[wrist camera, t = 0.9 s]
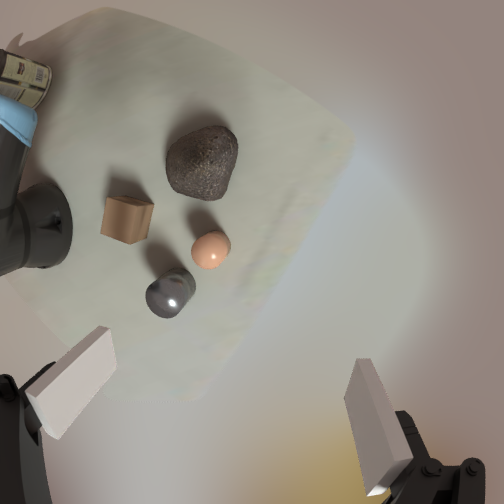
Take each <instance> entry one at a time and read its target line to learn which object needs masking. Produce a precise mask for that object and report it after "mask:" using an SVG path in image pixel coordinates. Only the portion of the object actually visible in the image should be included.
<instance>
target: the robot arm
mask: <svg viewBox="0 0 504 504" xmlns="http://www.w3.org/2000/svg"><path fill="white" fill-rule="evenodd" d="M37 121H38V116H37V113H36V111H35V110H34V109H32V108H31V107H29V106H27V105H24V104H22V103H20V102H18V101H16V100H13V99H11V98H9V97H6V96H4V95H2V94H0V276H2V275H5V274H7V273H9V272H12V271H14V270H16V269H19V268H22V267H28V268H36V267H37V268H42V269H46V268H50V267H53V266H55V265H58V264H60V263H61V262H62V261H63V260H64V259H65V257H66V256H67V254H68V252H69V249H70V246H71V241H72V218H71V212H70V209H69V205H68V203H67V200H66V198H65V197H64V195H63V193H62V192H61V191H60V190H59V189H58V188H57V187H56V186H54V185H52V184H36V185H33V186H31V187H30V188H28V189H27V190H25V191H23V192H21V193H19V194H17V193H18V188H19V184H20V180H21V176H22V172H23V168H24V165H25V162H26V158H27V155H28V152H29V149H30V147H31V146H32V143H31V142H32V138H33V135H34V131H35V128H36V125H37ZM116 369H117V363H116V358H115V353H114V348H113V343H112V338H111V332H110V328H106V327H102V326H98V327H97V328H96V329H95V330H94V331H92V332H91V333H90V334H89V335H88V336H86V337H85V338H84V339H83V340H82V341H80V342H79V343H78V344H77V345H76V346H75V347H73V348H72V349H71V350H70V351H69V352H68V353H67V354H65V356H63V357H62V358H61V359H60V360H59V361H57V362H52V363H50V364H47V365H46V366H45V367H43V368H42V369H41V370H40V372H38V373H37V374H35V376H33V377H32V378H31V379H30V380H29V381H28V382H26V383H25V384H24V385H23V386H22V387H21V388H20V389H18V387H17V386H16V383H15V381H14V379H13V377H12V376H10V375H8V374H2V375H0V504H52V500H51V496H50V491H49V486H48V481H47V476H46V470H45V463H44V456H43V448H42V436H41V432H40V430H39V429H40V427H41V426H43V428H44V429H45V431H46V433H47V434H49V435H50V436H52V437H54V438H55V439H57V440H58V439H59V438H60V437H61V436H62V435H63V434H64V432H65V431H66V430H67V429H68V427H69V426H70V425H71V424H72V422H73V421H74V420H75V419H76V417H77V416H78V415H79V414H80V412H81V411H82V410H83V409H84V407H85V406H86V405H87V404H88V403H89V401H90V400H91V399H92V398H93V396H94V395H95V394H96V393H97V392H98V390H99V389H100V388H101V387H102V386H103V384H104V383H105V382H106V381H107V380H108V378H109V377H110V376H111V375H112V374H113V372H114V371H115V370H116ZM344 400H345V403H346V408H347V411H348V415H349V420H350V424H351V428H352V431H353V436H354V440H355V444H356V449H357V453H358V458H359V462H360V467H361V471H362V476H363V481H364V486H365V490H366V496H371V495H377V494H383V493H384V492H385V491H386V490H387V489H388V488H389V487H390V490H391V495H390V496H389V497H388V498H387V499H386V500H385V501H384V502H383V503H382V504H485V466H484V464H483V463H482V461H481V460H479V459H477V458H468V459H466V460H464V461H463V463H462V464H461V465H460V466H443V465H442V463H441V462H440V461H438V460H436V459H433V458H430V456H429V454H428V452H427V449H426V447H425V445H424V443H423V441H422V438H421V436H420V434H418V430H417V427H415V423H414V421H413V419H412V417H411V416H410V415H409V414H408V413H407V412H406V411H394V409H393V407H392V405H391V403H390V400H389V398H388V396H387V393H386V391H385V389H384V387H383V385H382V383H381V381H380V378H379V376H378V374H377V372H376V370H375V367H374V366H373V363H372V361H371V359H356V362H355V366H354V369H353V372H352V376H351V378H350V382H349V385H348V388H347V391H346V394H345V396H344Z"/></svg>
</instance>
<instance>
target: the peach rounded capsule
mask: <svg viewBox="0 0 504 504" xmlns="http://www.w3.org/2000/svg"><path fill="white" fill-rule="evenodd" d="M230 249H231V243H230V240H229V238H228V237H227V236H226V235H225V234H224V233H222V232H220V231H211V232H209V233H207V234H205V235H204V236H202V237H200V238H198V239H197V240H196V241H195V242H194V244H193V246H192V249H191V254H192V258H193V260H194V262H195V263H196V264H197V265H198V266H199V267H201V268H203V269H214V268H216V267H217V266H219V265H220V264H221V262H222V261H223V260H224V259H225V258H226V257H227V255H228V254H229V252H230Z"/></svg>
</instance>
